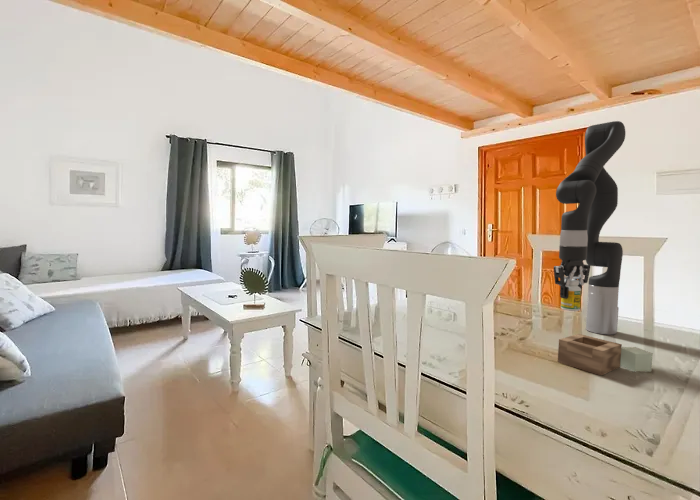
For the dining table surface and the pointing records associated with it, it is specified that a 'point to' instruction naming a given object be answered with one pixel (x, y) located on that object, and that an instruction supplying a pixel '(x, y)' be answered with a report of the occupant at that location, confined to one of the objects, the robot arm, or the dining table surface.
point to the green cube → (636, 359)
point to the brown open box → (589, 354)
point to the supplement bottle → (572, 297)
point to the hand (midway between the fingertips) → (570, 297)
